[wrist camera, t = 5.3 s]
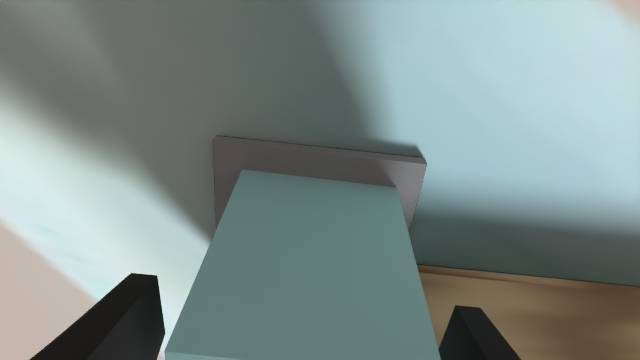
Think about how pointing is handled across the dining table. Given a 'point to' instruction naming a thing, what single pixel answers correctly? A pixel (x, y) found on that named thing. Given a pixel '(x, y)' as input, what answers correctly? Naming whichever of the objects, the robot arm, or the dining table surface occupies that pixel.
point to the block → (307, 277)
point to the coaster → (315, 168)
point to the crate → (541, 312)
